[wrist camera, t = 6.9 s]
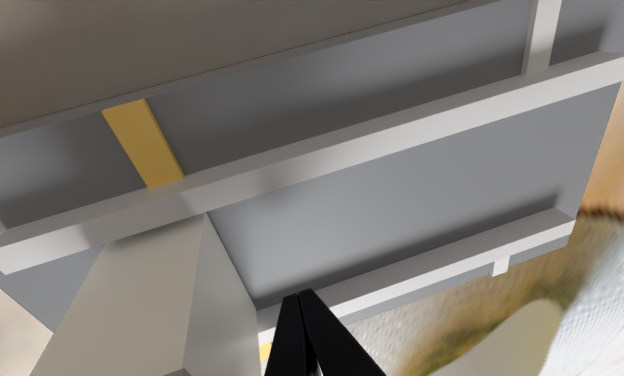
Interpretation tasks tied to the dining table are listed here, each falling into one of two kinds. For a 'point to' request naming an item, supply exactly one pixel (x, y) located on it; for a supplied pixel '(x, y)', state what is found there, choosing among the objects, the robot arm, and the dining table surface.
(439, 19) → the fader console
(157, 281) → the fader knob
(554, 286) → the dining table surface
